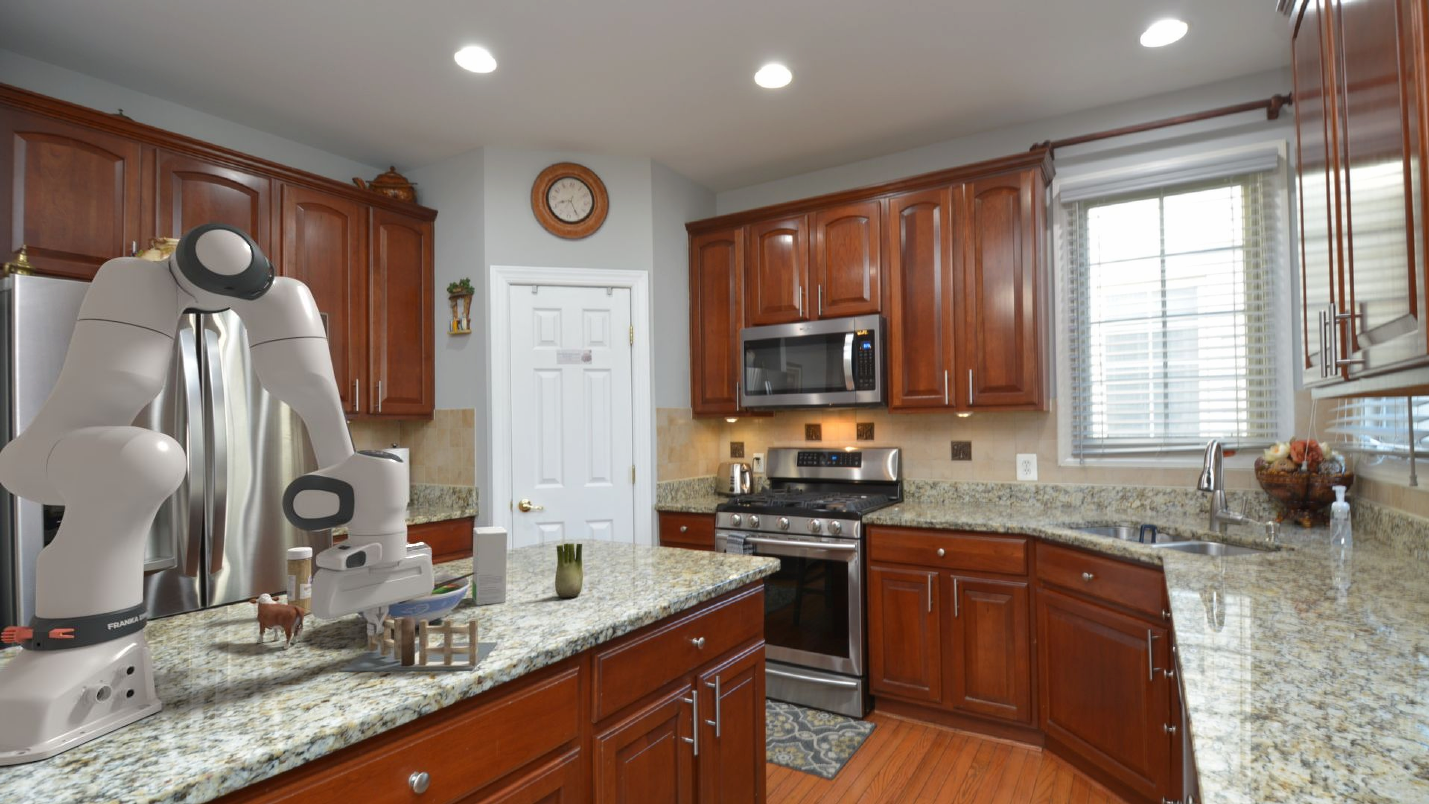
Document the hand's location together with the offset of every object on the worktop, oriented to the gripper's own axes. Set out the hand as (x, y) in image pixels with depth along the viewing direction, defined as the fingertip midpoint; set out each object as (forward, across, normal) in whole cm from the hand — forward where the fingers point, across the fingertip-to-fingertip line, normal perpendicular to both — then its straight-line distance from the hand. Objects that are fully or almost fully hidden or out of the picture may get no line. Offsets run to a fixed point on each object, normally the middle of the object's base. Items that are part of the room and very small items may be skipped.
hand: (376, 633), depth 116 cm
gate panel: (+4, -2, 0) cm, 4 cm away
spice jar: (+5, -10, -40) cm, 42 cm away
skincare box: (+5, -37, -14) cm, 40 cm away
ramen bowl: (+5, -17, -14) cm, 22 cm away
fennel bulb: (+4, -48, -1) cm, 48 cm away
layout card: (+4, -5, +5) cm, 8 cm away
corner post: (+4, -1, +7) cm, 8 cm away
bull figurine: (+5, +2, -25) cm, 25 cm away
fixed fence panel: (+4, -4, +12) cm, 14 cm away
